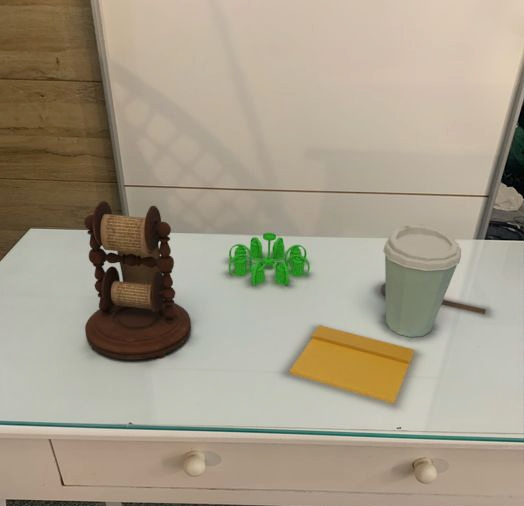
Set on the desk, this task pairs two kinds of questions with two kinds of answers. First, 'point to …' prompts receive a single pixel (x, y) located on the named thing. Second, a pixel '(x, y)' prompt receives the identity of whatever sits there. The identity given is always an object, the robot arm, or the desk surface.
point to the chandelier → (268, 260)
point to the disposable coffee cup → (417, 277)
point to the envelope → (354, 363)
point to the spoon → (447, 303)
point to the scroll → (134, 287)
